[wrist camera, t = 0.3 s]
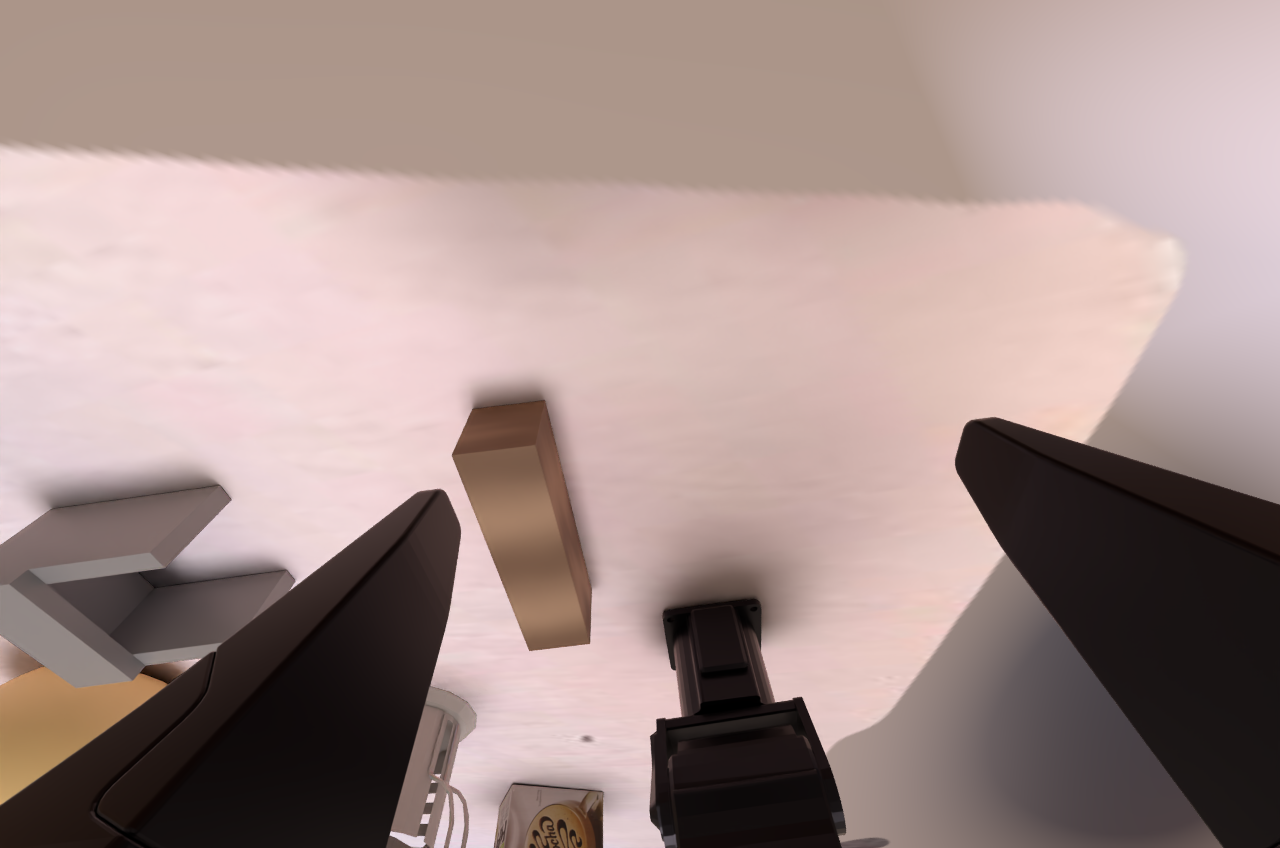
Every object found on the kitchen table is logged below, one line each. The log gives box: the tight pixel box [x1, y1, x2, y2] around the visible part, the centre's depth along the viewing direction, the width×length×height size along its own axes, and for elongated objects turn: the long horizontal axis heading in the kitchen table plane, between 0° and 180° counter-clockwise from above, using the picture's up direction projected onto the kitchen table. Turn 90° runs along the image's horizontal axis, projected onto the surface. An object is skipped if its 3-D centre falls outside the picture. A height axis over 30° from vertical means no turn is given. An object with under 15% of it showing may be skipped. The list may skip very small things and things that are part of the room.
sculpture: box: [0, 666, 168, 805], centre depth 29 cm, size 12×12×11 cm
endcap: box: [0, 486, 295, 688], centre depth 25 cm, size 8×9×5 cm
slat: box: [452, 400, 592, 651], centre depth 26 cm, size 14×4×4 cm, turn 6°
